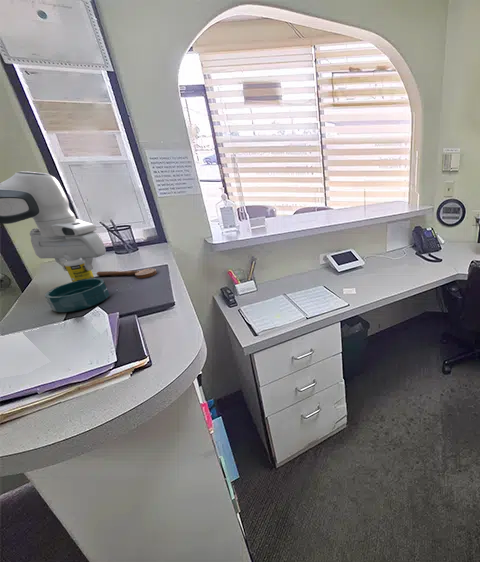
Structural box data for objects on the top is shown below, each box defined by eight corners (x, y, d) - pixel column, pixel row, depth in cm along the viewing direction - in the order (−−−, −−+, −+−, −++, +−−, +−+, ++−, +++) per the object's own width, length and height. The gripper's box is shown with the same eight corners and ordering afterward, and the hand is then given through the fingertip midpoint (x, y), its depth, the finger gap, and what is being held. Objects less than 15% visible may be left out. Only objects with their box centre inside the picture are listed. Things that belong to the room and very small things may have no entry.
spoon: (90, 279, 105) (88, 275, 104) (105, 272, 111) (103, 268, 110) (148, 278, 104) (147, 273, 103) (160, 271, 109) (159, 267, 108)
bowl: (41, 314, 84) (31, 298, 81) (82, 293, 95) (75, 278, 93) (83, 313, 83) (75, 297, 81) (120, 292, 94) (114, 277, 92)
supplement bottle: (77, 286, 97) (62, 257, 93) (71, 283, 100) (57, 254, 96) (98, 280, 101) (85, 252, 97) (91, 277, 104) (79, 249, 100)
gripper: (16, 231, 91) (38, 274, 97) (81, 229, 90) (100, 273, 95) (38, 226, 97) (58, 267, 102) (100, 224, 95) (117, 266, 101)
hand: (79, 270), depth 99 cm, fingers closed on supplement bottle, 5 cm apart
